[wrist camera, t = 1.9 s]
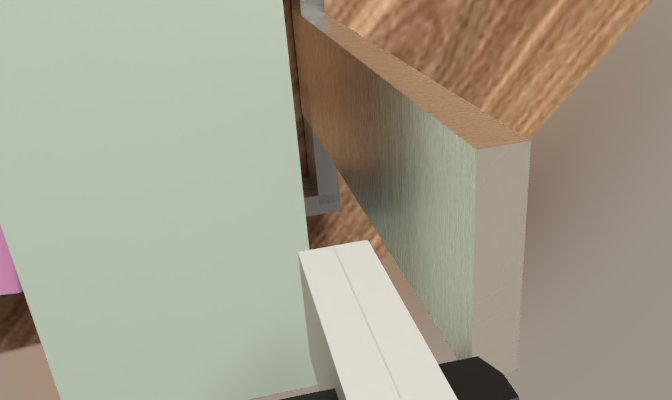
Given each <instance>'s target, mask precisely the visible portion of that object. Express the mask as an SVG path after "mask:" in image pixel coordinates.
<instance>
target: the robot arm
mask: <svg viewBox="0 0 672 400" xmlns="http://www.w3.org/2000/svg"><path fill="white" fill-rule="evenodd" d="M298 258H299V267H300V275H301V284H302V293H303V301H304V310H305V318H306V327H307V335H308V344H309V352H310V359H311V362H312V366H313V370H314V373H315V377H316V380H317V384H318V388H319V392H314V393H310V394H306V395H301V396H296V397H291V398H286V399H281V400H519V398H518V395H517V393H516V392H515V391H514V389H513V388H512V386H511V385H510V384H509V382H508V380H507V379H506V378H505V376H504V375H503V373H501V372H500V371H498V370H497V369H496V368H494V367H493V366H491V365H490V364H488V363H487V362H485V361H484V360H483V359H481V358H480V357H478V356H476V357H471V358H466V359H462V360H457V361H452V362H447V363H443V364H438V363H437V362H436V360H435V358H434V356H433V355H432V353H431V351H430V349H429V348H428V346H427V344H426V342H425V340H424V339H423V337H422V335H421V333H420V332H419V330H418V328H417V326H416V325H415V323H414V321H413V319H412V318H411V316H410V314H409V312H408V310H407V309H406V307H405V305H404V303H403V302H402V300H401V298H400V296H399V294H398V293H397V291H396V289H395V287H394V286H393V284H392V282H391V280H390V278H389V277H388V275H387V273H386V271H385V270H384V268H383V266H382V264H381V263H380V261H379V259H378V257H377V255H376V254H375V252H374V250H373V248H372V247H371V245H370V243H369V241H368V240H365V241H359V242H353V243H347V244H341V245H336V246H330V247H324V248H318V249H312V250H307V251H301V252H298Z"/></svg>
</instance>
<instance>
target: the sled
mask: <svg viewBox="0 0 672 400" xmlns="http://www.w3.org/2000/svg"><path fill="white" fill-rule="evenodd" d="M291 3H292V8H291V9H292V18H293V28H294V38H295V48H296V58H297V67H298V77H299V87H300V97H301V107H302V114H303V121H304V131H305V141H306V151H307V161H308V171H309V177H303V178H302V186H303V195H304V204H305V214H306V217H308V216H314V215H320V214H326V213H332V212H338V211H340V199H339V186H338V174H337V169H338V171H339V172H340V174H341V176H342V177H343V179H344V180H345V182H346V183H347V185H348V187H349V188H350V190H351V191H352V193H353V195H354V196H355V198H356V199H357V201H358V202H359V204H360V206H361V207H362V209H363V210H364V212H365V214H366V215H367V217H368V218H369V220H370V222H371V223H372V225H373V226H374V228H375V229H376V231H377V233H378V234H379V236H380V237H381V239H382V241H383V242H384V244H385V245H386V247H387V248H388V250H389V252H390V253H391V255H392V256H393V258H394V260H395V261H396V263H397V264H398V266H399V268H400V269H401V271H402V272H403V274H404V275H405V277H406V279H407V280H408V281H409V283H410V285H411V286H412V288H413V290H414V291H415V293H416V294H417V296H418V298H419V299H420V301H421V302H422V304H423V306H424V307H425V309H426V310H427V312H428V313H429V315H430V317H431V318H432V320H433V321H434V323H435V325H436V326H437V328H438V329H439V331H440V332H441V334H442V336H443V337H444V339H445V341H446V342H447V344H448V345H449V347H450V348H451V350H452V352H453V353H454V355H455V356H456V358H457V360H462V359H466V358H471V357H476V356H478V357H480V358H481V359H483V360H484V361H485V362H487V363H488V364H490V365H491V366H493V367H494V368H496V369H497V370H498V371H500V372H501V373H503V374H505V373H510V372H514V371H517V358H518V341H519V340H518V339H519V325H520V309H521V293H522V277H523V261H524V245H525V228H526V212H527V197H528V181H529V164H530V148H531V141H530V140H528V139H527V138H525V137H523V136H522V135H520V134H519V133H517V132H515V131H514V130H512V129H511V128H509V127H507V126H506V125H504V124H502V123H501V122H499V121H498V120H496V119H494V118H493V117H491V116H490V115H488V114H486V113H485V112H483V111H482V110H480V109H478V108H477V107H475V106H474V105H472V104H470V103H469V102H467V101H465V100H464V99H462V98H461V97H459V96H457V95H456V94H454V93H453V92H451V91H449V90H448V89H446V88H445V87H443V86H441V85H440V84H438V83H436V82H435V81H433V80H432V79H430V78H428V77H427V76H425V75H424V74H422V73H420V72H419V71H417V70H416V69H414V68H412V67H411V66H409V65H408V64H406V63H404V62H403V61H401V60H399V59H398V58H396V57H395V56H393V55H391V54H390V53H388V52H387V51H385V50H383V49H382V48H380V47H379V46H377V45H375V44H374V43H372V42H371V41H369V40H367V39H366V38H364V37H362V36H361V35H359V34H358V33H356V32H354V31H353V30H351V29H350V28H348V27H346V26H345V25H343V24H342V23H340V22H338V21H337V20H335V19H333V18H332V17H330V16H329V15H327V14H325V12H324V0H291Z"/></svg>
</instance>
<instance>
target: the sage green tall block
mask: <svg viewBox="0 0 672 400" xmlns="http://www.w3.org/2000/svg"><path fill="white" fill-rule="evenodd" d="M0 225H1V228H2V231H3V234H4V237H5V240H6V242H7V245H8V248H9V251H10V254H11V257H12V260H13V263H14V266H15V269H16V272H17V274H18V277H19V280H20V283H21V286H22V289H23V292H24V295H25V298H26V301H27V303H28V306H29V309H30V312H31V315H32V318H33V321H34V324H35V327H36V330H37V332H38V335H39V338H40V341H41V344H42V347H43V350H44V353H45V356H46V359H47V362H48V364H49V367H50V370H51V373H52V376H53V379H54V382H55V385H56V388H57V391H58V393H59V396H60V399H61V400H251V399H255V398H259V397H265V396H269V395H274V394H278V393H283V392H288V391H292V390H297V389H302V388H306V387H311V386H315V385H318V384H317V380H316V377H315V373H314V370H313V366H312V362H311V359H310V352H309V344H308V335H307V327H306V318H305V310H304V301H303V293H302V284H301V275H300V267H299V258H298V252H301V251H307V250H309V242H308V232H307V223H306V214H305V204H304V195H303V186H302V177H301V167H300V158H299V149H298V139H297V130H296V121H295V111H294V102H293V93H292V83H291V74H290V65H289V55H288V46H287V37H286V28H285V18H284V9H283V0H0Z"/></svg>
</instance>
